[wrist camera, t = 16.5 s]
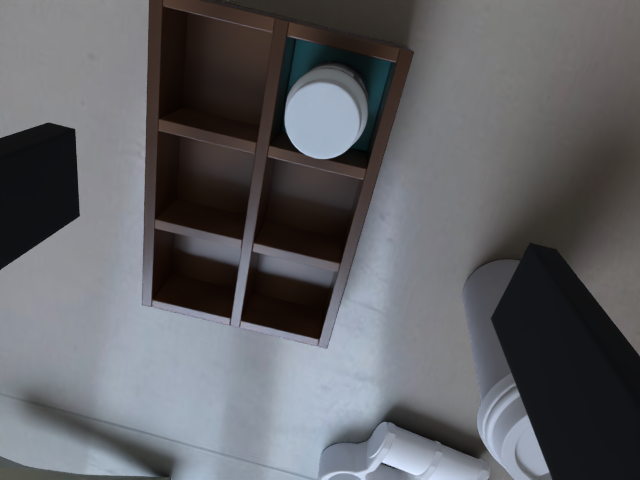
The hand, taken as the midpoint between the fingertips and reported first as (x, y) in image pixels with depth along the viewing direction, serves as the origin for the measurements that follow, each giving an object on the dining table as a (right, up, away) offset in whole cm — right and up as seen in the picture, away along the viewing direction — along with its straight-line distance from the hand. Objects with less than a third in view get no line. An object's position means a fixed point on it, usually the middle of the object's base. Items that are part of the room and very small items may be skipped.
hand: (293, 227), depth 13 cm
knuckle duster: (+10, -26, +36) cm, 45 cm away
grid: (-3, +4, +21) cm, 22 cm away
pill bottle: (+2, +10, +17) cm, 20 cm away
